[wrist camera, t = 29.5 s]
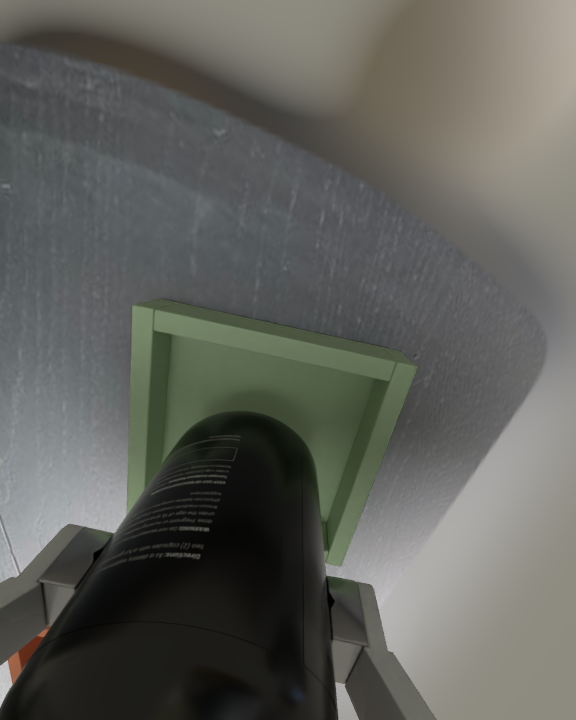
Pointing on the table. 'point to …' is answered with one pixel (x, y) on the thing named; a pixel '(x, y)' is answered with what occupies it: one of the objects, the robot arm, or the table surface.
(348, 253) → the table surface
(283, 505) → the supplement bottle
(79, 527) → the robot arm
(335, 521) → the sage tray
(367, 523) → the table surface
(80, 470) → the table surface
